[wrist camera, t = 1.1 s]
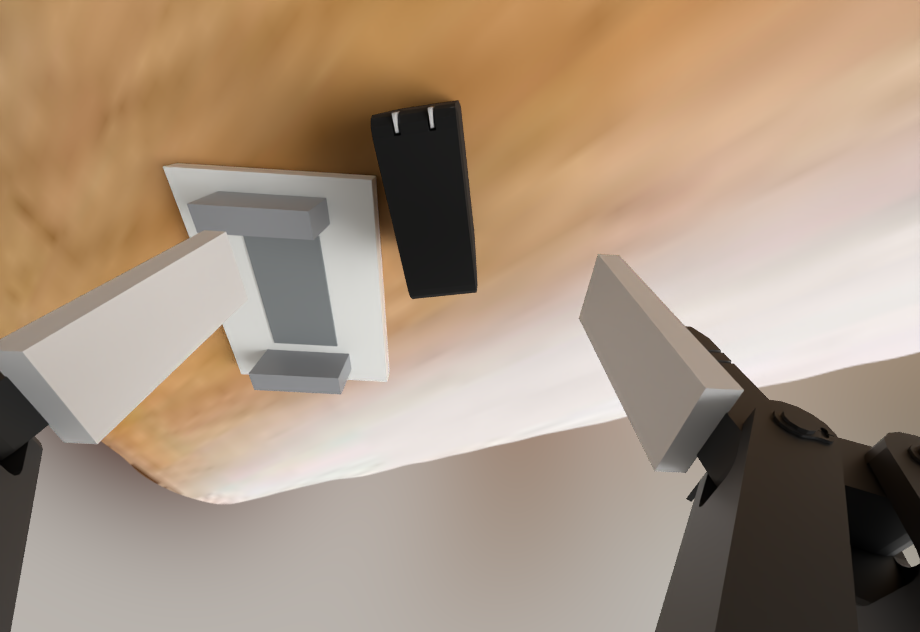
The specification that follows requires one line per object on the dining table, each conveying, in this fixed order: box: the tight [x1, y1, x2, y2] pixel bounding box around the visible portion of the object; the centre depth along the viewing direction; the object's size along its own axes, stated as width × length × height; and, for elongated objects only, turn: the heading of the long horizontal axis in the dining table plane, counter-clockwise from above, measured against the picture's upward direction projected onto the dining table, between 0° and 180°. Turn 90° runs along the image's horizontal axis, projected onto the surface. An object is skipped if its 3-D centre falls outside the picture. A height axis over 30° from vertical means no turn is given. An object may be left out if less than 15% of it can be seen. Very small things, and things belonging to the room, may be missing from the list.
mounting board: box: [163, 163, 390, 394], centre depth 30 cm, size 20×15×5 cm
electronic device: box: [371, 100, 477, 299], centre depth 22 cm, size 4×10×10 cm, turn 7°
